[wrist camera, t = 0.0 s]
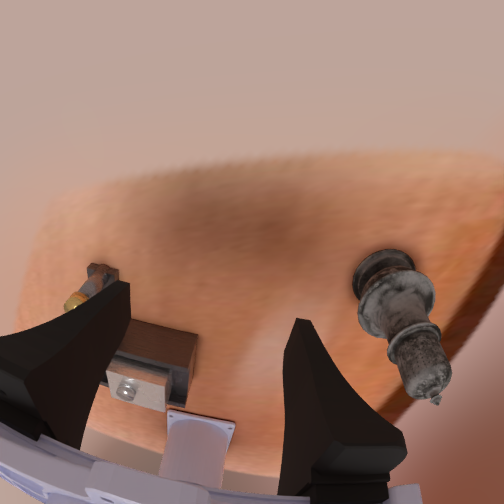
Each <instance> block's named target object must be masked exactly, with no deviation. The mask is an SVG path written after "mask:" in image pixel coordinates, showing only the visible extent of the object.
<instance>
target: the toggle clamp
mask: <svg viewBox="0 0 504 504" xmlns="http://www.w3.org/2000/svg"><path fill="white" fill-rule="evenodd" d="M87 274H88V279H87V281H86V282H85V283H84V284H83V286H82V287H81V288H80V289H79V291H78V292H81V293H83V294H85V295H86V296H87V297H88V298H89V299H90V298H91V297H93V296H94V295H96V294H97V293H99V292H100V291H101V290H103V289H104V288H106V287H107V286H109V285H110V284H112V283H113V282H115V281H116V280H119V273H118V270H117V269H113V268H109V267H108V266H107V265H105V264H101V265H97V264H93V263H91V264H90V265H89V266H88V267H87ZM197 336H198V335H196V334H192V333H187V332H183V331H178V330H174V329H170V328H166V327H162V326H158V325H153V324H149V323H146V322H142V321H138V320H134V319H131V320H130V323H129V326H128V328H127V331H126V333H125V336H124V338H123V340H122V342H121V344H120V346H119V348H118V349H117V351H116V353H115V354H116V355H120V356H123V357H127V358H130V359H134V360H137V361H141V362H145V363H148V364H152V365H156V366H160V367H164V368H168V369H172V390H171V394H170V397H169V400H168V404H169V405H173V406H178V407H182V408H185V406H186V402H187V398H188V394H189V390H190V386H191V382H192V378H193V371H194V362H195V353H196V345H197ZM100 385H103V386H106V387H109V383H108V379H107V374H106V372H105V373H104V375H103V378H102V380H101V382H100Z"/></svg>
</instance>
